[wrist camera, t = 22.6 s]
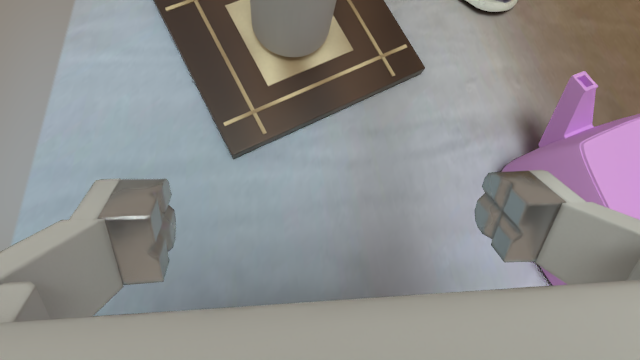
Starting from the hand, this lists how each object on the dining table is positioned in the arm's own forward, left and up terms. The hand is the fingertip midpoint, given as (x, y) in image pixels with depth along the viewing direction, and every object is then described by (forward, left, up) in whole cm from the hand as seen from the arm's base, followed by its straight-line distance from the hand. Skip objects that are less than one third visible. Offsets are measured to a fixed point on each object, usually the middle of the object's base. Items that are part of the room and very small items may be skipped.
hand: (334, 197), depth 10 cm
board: (+8, +16, -20) cm, 27 cm away
